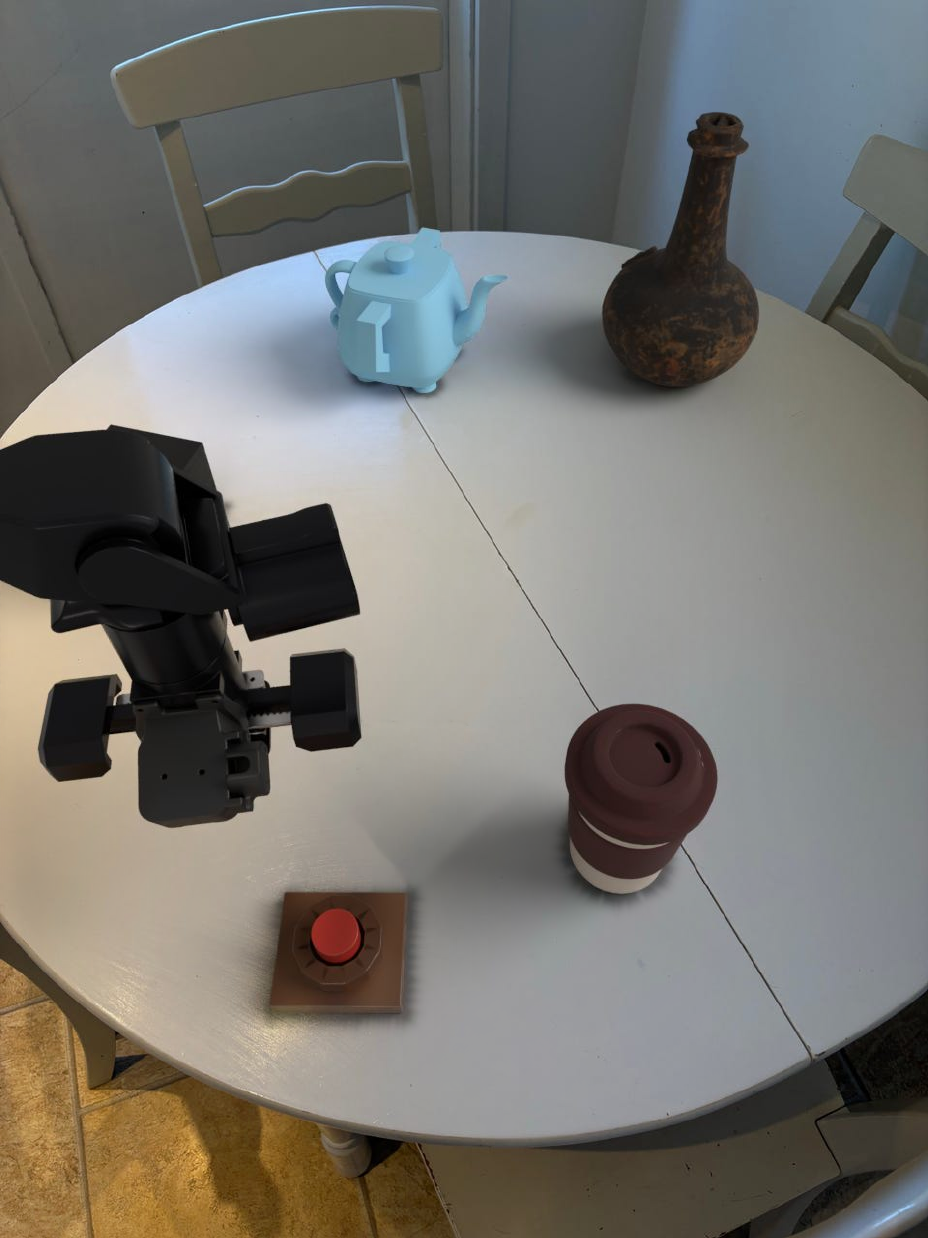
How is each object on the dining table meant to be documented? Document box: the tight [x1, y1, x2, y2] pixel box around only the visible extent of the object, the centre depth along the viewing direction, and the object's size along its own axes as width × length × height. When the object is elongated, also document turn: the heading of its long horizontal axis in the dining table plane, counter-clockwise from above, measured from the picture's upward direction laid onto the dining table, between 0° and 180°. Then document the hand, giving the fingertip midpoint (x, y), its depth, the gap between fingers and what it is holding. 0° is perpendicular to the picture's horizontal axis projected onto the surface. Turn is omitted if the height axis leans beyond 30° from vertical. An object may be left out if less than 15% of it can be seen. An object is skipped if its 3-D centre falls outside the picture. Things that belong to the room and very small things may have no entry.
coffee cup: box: [564, 703, 719, 895], centre depth 63 cm, size 10×10×15 cm
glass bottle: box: [601, 111, 760, 388], centre depth 97 cm, size 18×18×28 cm
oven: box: [105, 423, 218, 491], centre depth 87 cm, size 10×10×9 cm
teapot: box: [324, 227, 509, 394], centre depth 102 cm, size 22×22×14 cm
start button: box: [311, 909, 361, 963], centre depth 61 cm, size 3×3×2 cm
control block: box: [269, 891, 409, 1014], centre depth 63 cm, size 9×8×4 cm
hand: (235, 777), depth 61 cm, fingers closed
